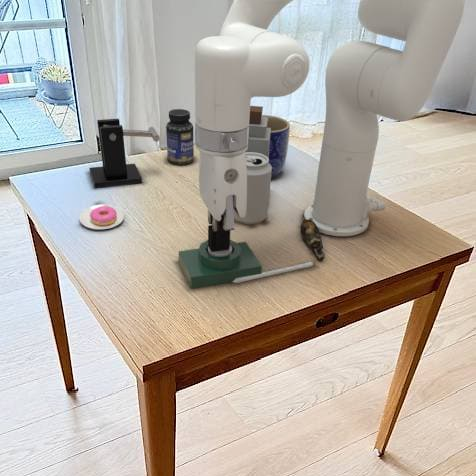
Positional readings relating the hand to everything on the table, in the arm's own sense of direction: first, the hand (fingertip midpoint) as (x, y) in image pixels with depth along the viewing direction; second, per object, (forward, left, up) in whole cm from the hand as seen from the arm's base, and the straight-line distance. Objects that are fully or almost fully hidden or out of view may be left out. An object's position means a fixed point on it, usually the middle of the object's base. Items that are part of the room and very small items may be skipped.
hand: (218, 248), depth 86 cm
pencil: (-8, +4, -5) cm, 10 cm away
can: (-11, -16, -4) cm, 20 cm away
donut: (+16, -23, -4) cm, 29 cm away
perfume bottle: (-14, -24, -5) cm, 28 cm away
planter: (-21, -35, -4) cm, 41 cm away
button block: (0, 0, -4) cm, 4 cm away
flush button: (0, 0, -2) cm, 2 cm away
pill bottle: (-5, -46, -4) cm, 47 cm away
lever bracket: (+11, -40, -4) cm, 42 cm away
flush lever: (+7, -40, +4) cm, 41 cm away
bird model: (-19, -4, -5) cm, 20 cm away
